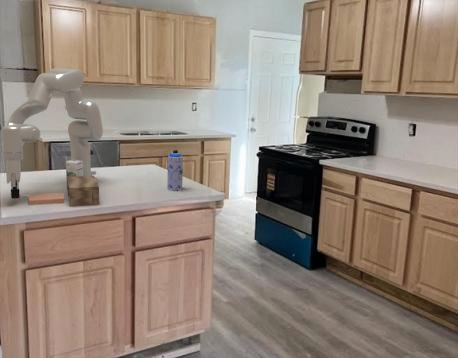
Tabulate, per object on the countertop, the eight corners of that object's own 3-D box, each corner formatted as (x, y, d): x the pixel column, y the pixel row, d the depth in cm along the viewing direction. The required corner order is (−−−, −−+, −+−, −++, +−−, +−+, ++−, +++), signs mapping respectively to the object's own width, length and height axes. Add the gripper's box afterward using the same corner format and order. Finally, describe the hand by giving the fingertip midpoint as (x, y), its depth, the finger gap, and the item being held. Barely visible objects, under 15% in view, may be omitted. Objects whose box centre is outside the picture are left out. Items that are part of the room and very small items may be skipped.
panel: (29, 206, 188) (28, 200, 187) (30, 199, 197) (29, 194, 196) (64, 204, 193) (64, 198, 192) (63, 198, 202) (63, 193, 201)
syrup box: (84, 189, 216) (83, 160, 213) (76, 192, 210) (75, 162, 207) (74, 188, 218) (73, 159, 214) (66, 191, 212) (65, 161, 209)
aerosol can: (179, 191, 220) (180, 151, 216) (164, 190, 222) (165, 150, 217) (184, 188, 228) (185, 149, 223) (170, 186, 229) (170, 148, 225)
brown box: (70, 206, 188) (69, 188, 186) (67, 193, 208) (67, 176, 206) (99, 204, 193) (98, 186, 191) (94, 192, 212) (93, 175, 211)
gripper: (4, 152, 191) (7, 194, 195) (1, 158, 177) (4, 203, 181) (23, 152, 194) (25, 193, 197) (22, 158, 180) (24, 202, 184)
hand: (15, 197), depth 189 cm, fingers closed
